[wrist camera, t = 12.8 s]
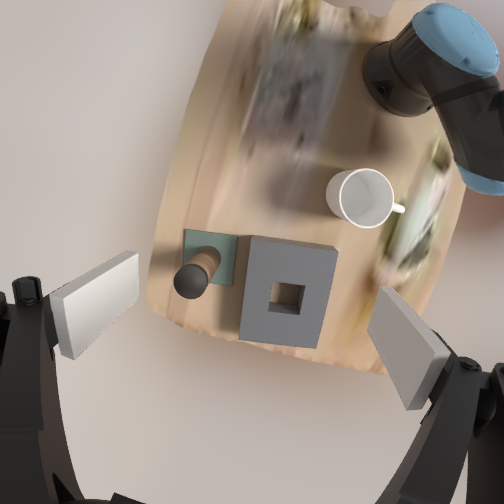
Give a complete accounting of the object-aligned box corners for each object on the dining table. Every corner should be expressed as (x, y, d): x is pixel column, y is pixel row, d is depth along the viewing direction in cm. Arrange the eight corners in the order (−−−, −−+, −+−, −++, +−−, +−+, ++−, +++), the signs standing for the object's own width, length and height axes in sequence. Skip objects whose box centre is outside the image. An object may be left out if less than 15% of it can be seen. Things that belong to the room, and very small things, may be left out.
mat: (186, 229, 50) (185, 229, 49) (237, 235, 49) (237, 236, 49) (183, 277, 52) (182, 278, 51) (231, 285, 52) (231, 286, 51)
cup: (330, 165, 46) (346, 160, 36) (393, 184, 46) (420, 185, 36) (319, 212, 48) (332, 220, 38) (382, 229, 48) (407, 240, 38)
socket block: (252, 234, 49) (251, 239, 45) (333, 246, 49) (338, 251, 45) (240, 328, 53) (238, 339, 50) (313, 337, 53) (316, 348, 49)
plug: (197, 244, 50) (174, 265, 37) (222, 247, 50) (206, 270, 37) (195, 268, 51) (173, 296, 38) (220, 272, 51) (204, 301, 38)
